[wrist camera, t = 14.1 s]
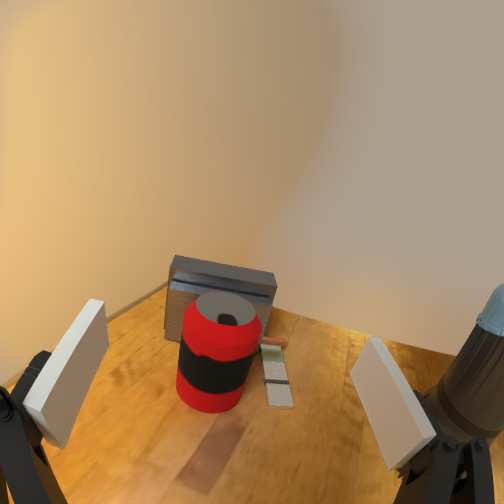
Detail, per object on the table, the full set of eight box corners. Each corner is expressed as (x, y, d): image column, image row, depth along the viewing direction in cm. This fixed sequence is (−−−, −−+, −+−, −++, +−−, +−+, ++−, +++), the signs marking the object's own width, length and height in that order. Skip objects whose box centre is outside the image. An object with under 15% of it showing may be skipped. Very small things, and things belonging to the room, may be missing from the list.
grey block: (275, 327, 45) (289, 284, 43) (282, 356, 39) (299, 310, 36) (172, 310, 43) (178, 264, 40) (164, 338, 36) (168, 288, 34)
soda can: (174, 411, 26) (183, 327, 22) (177, 364, 33) (187, 282, 29) (243, 416, 28) (273, 336, 24) (236, 370, 35) (258, 291, 31)
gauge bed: (275, 331, 45) (293, 276, 41) (292, 409, 30) (323, 348, 27) (168, 313, 42) (175, 254, 39) (146, 391, 28) (146, 322, 24)
